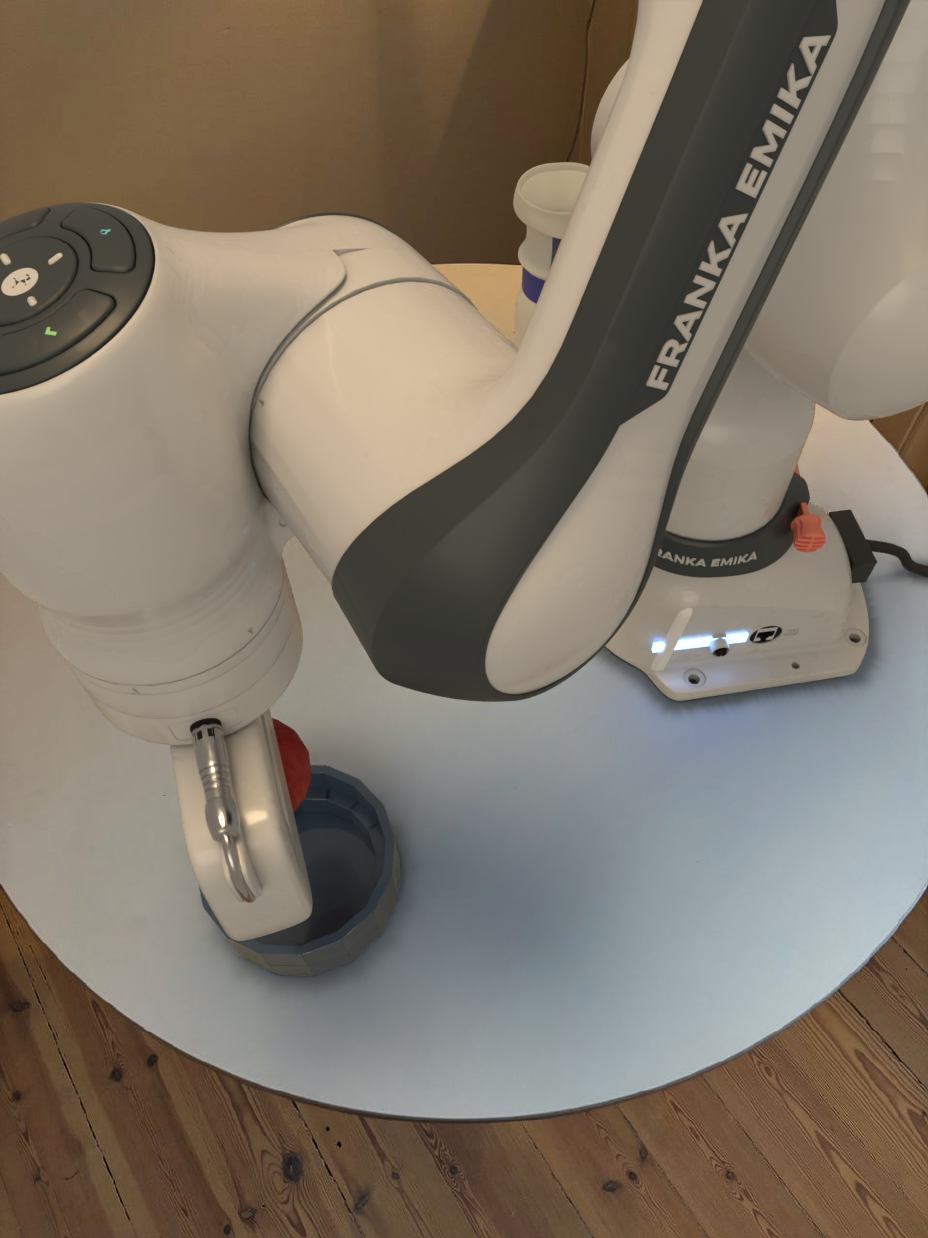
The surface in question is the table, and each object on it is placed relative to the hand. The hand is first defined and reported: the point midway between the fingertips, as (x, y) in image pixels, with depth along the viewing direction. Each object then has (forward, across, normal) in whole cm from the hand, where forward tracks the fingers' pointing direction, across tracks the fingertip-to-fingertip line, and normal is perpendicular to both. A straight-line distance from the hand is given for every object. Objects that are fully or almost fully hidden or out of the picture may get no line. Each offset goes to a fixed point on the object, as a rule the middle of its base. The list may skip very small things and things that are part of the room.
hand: (256, 776), depth 48 cm
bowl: (+17, 0, 0) cm, 17 cm away
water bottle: (+17, +42, -34) cm, 56 cm away
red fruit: (+3, 0, 0) cm, 3 cm away
